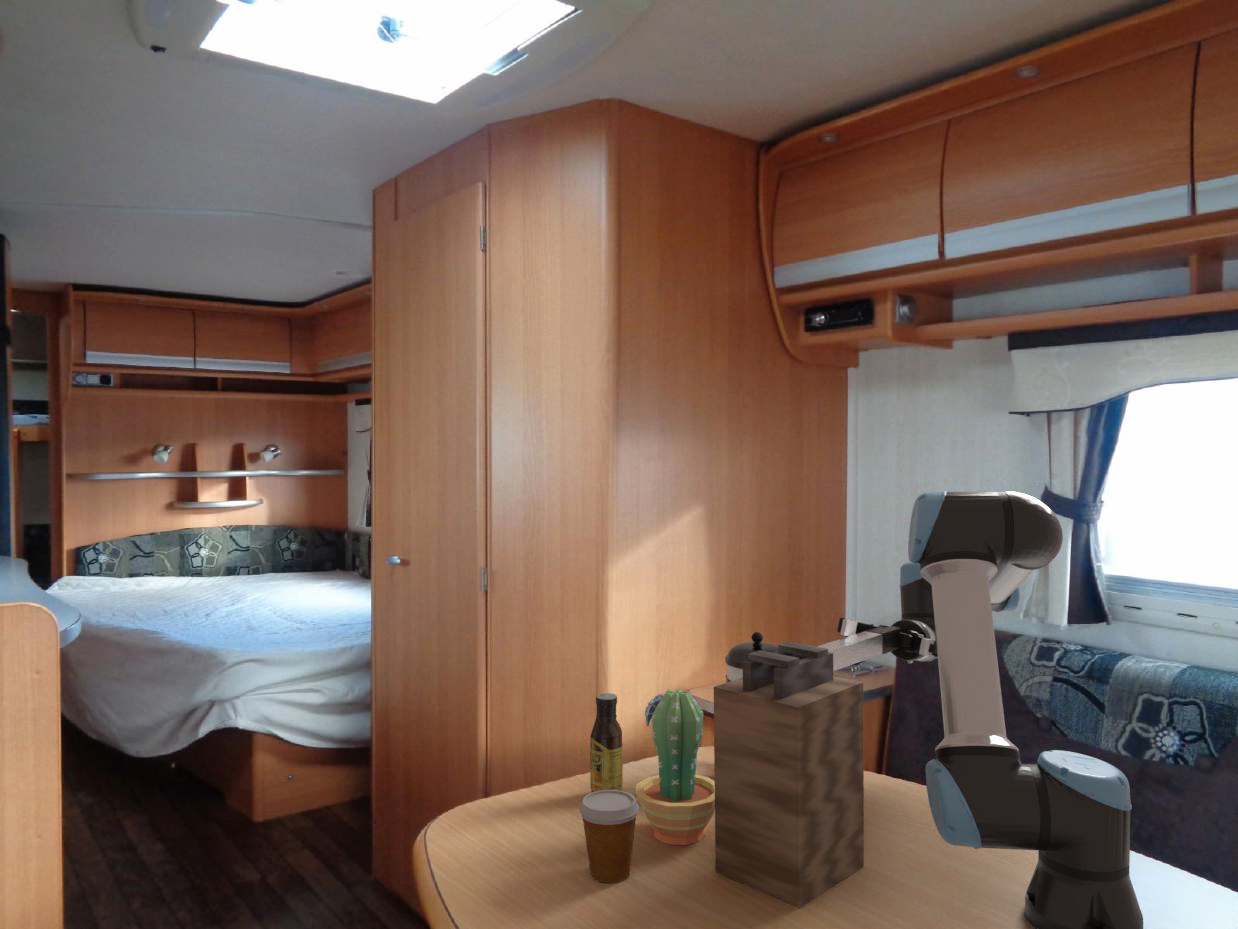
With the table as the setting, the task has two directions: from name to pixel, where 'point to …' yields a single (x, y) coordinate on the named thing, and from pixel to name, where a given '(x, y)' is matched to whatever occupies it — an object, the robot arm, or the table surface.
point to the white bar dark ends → (862, 646)
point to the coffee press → (745, 655)
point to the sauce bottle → (606, 746)
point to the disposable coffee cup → (609, 833)
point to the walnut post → (789, 774)
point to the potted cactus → (676, 771)
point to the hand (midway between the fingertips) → (882, 636)
